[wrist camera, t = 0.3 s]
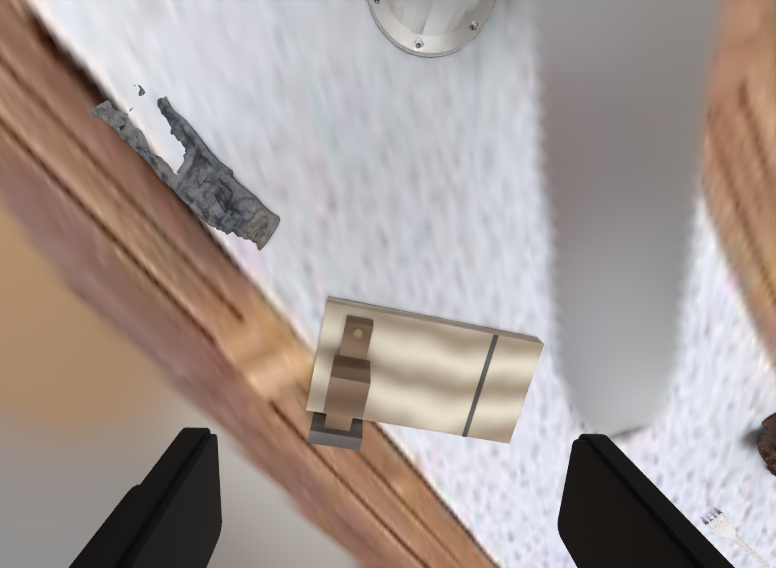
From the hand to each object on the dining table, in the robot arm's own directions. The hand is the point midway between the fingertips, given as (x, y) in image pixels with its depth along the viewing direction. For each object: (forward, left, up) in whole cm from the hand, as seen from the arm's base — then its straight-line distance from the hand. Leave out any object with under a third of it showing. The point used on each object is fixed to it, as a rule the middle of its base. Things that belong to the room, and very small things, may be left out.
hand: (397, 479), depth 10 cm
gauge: (+15, 0, -35) cm, 38 cm away
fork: (+33, +64, -36) cm, 80 cm away
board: (+14, +9, -35) cm, 39 cm away
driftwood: (-4, -20, -36) cm, 42 cm away
